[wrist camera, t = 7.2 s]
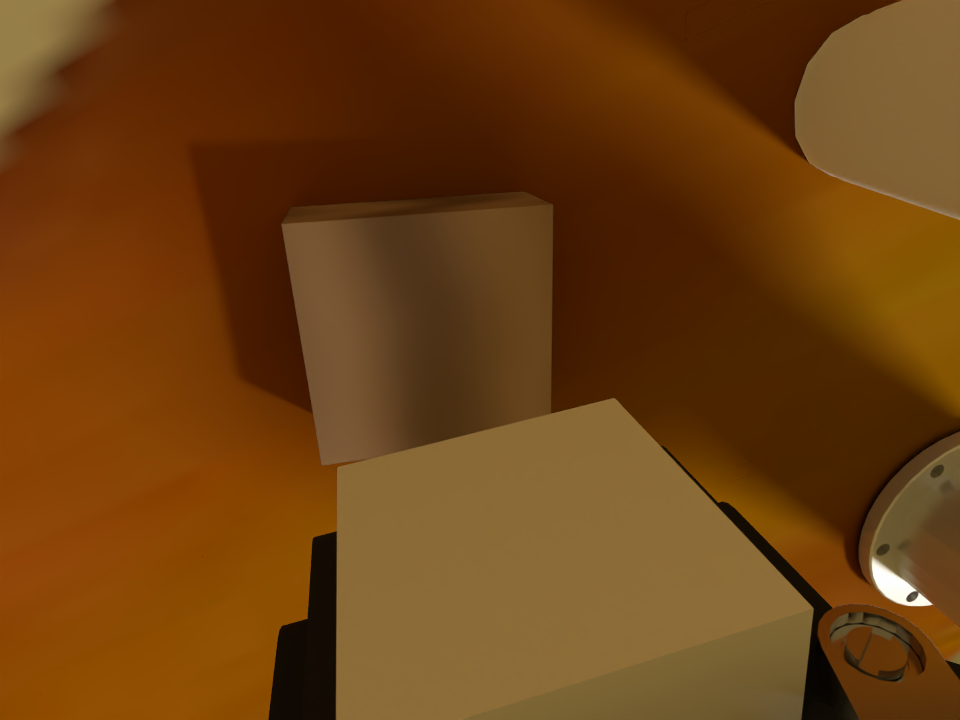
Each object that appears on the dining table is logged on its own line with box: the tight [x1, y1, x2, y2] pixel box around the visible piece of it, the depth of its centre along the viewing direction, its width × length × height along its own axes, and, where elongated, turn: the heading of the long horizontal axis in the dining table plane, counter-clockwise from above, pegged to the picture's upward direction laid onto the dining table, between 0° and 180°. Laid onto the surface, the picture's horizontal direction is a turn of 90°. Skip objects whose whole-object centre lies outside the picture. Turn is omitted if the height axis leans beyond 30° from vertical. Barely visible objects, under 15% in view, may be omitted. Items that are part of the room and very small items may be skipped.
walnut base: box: [281, 191, 553, 465], centre depth 23 cm, size 9×9×4 cm
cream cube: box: [336, 398, 814, 720], centre depth 9 cm, size 5×5×5 cm
